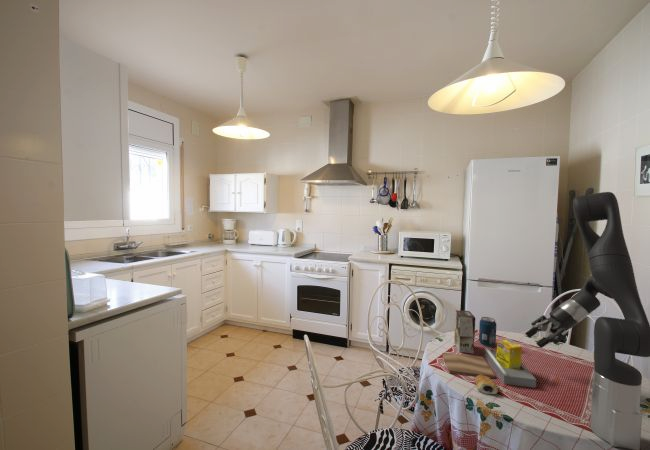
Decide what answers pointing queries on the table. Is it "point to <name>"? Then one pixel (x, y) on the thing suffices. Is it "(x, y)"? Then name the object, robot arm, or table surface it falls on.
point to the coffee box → (464, 331)
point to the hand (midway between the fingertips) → (532, 340)
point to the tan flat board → (467, 365)
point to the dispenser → (510, 372)
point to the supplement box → (509, 354)
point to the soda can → (487, 331)
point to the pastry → (485, 384)
